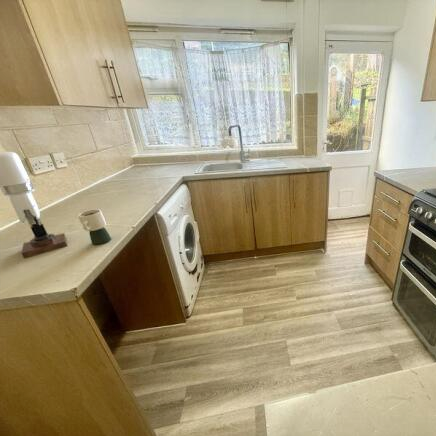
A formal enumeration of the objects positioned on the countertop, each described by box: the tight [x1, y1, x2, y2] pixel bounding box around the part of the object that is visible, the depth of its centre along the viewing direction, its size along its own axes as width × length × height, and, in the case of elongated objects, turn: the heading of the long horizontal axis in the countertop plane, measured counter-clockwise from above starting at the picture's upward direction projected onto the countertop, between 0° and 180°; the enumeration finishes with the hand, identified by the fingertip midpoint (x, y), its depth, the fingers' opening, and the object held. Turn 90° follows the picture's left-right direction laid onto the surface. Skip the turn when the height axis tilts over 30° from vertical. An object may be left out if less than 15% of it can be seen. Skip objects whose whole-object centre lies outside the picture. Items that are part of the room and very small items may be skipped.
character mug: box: [77, 208, 112, 246], centre depth 94 cm, size 11×7×13 cm, turn 11°
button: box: [33, 232, 50, 241], centre depth 93 cm, size 4×4×2 cm
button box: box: [21, 232, 68, 259], centre depth 94 cm, size 12×10×4 cm
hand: (41, 234), depth 92 cm, fingers closed
